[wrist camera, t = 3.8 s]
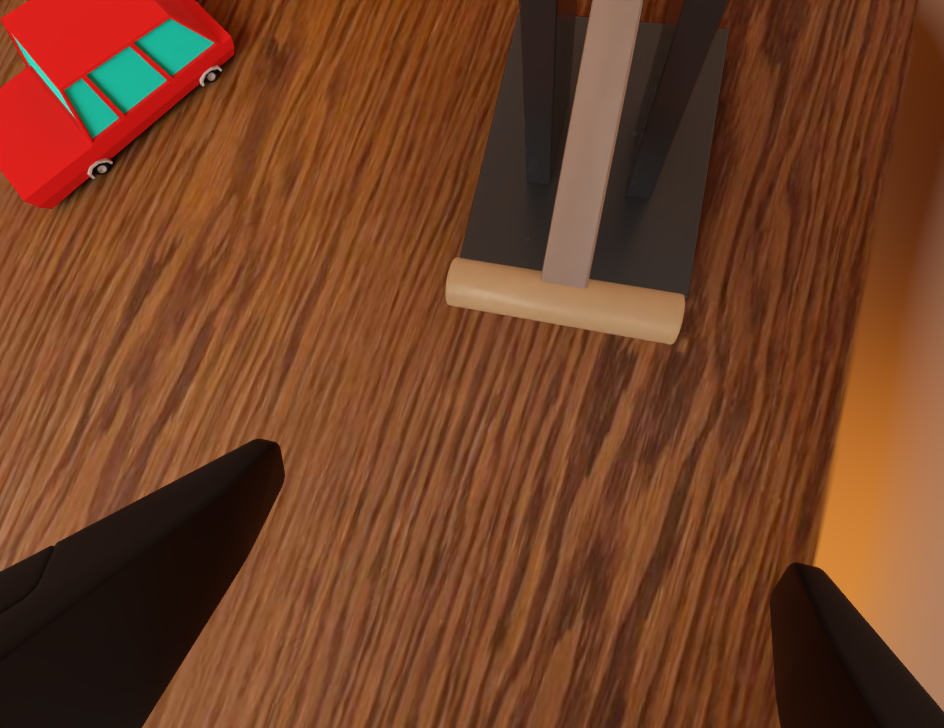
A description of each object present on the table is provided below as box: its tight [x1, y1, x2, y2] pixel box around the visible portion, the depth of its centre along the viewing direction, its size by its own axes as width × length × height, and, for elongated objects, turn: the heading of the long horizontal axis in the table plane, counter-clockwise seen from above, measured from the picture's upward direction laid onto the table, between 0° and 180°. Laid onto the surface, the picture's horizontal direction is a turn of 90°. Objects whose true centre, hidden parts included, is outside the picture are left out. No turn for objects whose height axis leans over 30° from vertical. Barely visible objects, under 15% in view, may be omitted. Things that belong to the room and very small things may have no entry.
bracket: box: [460, 0, 729, 301], centre depth 17 cm, size 12×9×14 cm
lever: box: [446, 0, 685, 344], centre depth 12 cm, size 12×6×2 cm, turn 168°
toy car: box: [0, 0, 234, 209], centre depth 25 cm, size 6×12×4 cm, turn 132°
